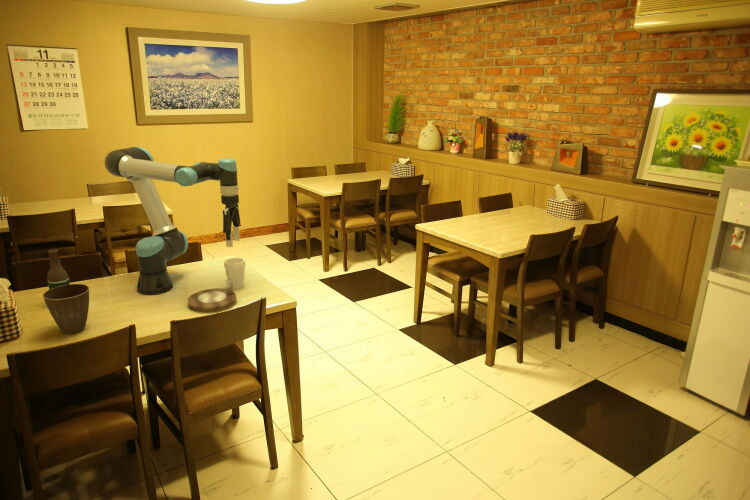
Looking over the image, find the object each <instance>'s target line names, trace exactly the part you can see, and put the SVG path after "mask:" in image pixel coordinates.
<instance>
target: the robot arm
mask: <svg viewBox="0 0 750 500" xmlns="http://www.w3.org/2000/svg"><path fill="white" fill-rule="evenodd" d="M104 168H105V169H106V170H107V172H108V173H109V174H110V175H113V176H115V177H119V178H120V177H121V178H125V179H126V180H127V181H128V182H130V183H132V185H133V187H134V190H135V192H136V195H137V196H138V199H139V201H140V203H141V205H142V208H143V209H144V211H145V214H146V217H147V218H148V221H149V223H150V225H151V228H152V230H153V233H152V236H148V237H145V238H142V239H140V240H138V242H137V243H136V245H135V248H136V249H135V251H136V252H135V253H136V258H137V259H136V260H137V265H138V266H137V267H138V271H139V272H138V273H139V274H138V275H139V276H138V280H137V286H136V289H137V293H139V294H141V295H148V296H149V295H150V296H151V295H159V294H164V293H167V292H169V291H170V290H172V289H173V288H174V284H173V283H174V282H173V280H172V278H171V276H170V274H169V272H168V268H167V263H168V262H169V261H172V260H174V259H175V258H178V257H181V256H182V255H183V254H185V253H186V251H187V249H188V248H189V240H188V237H187V235H186V234H185V233H184V232H183V231H180V230H179V229H178V227H177V226H175V225H173V223H172V222H171V219H170V217H169V214H168V211H167V209H166V207H165V205H164V203H163V200H162V198H161V195H160V194H159V191H158V189H157V187H156V184H155V182H154V180H156V181H163V182H168V183H169V182H170V183H177V184H178V185H179V186H181V187H191V186H193V185H197V184H200V183H203V182H207V181H217V182H218V181H219V187H220V188H219V189H220V190H219V191H220V194H221V196H220V200H221V201H220V203H221V204H222V205H225V207H224V209H223V210H222V233H223V234H225V245H226V248H233V247H234V245H233V244H234V243H233V242H239V241H241V238H240V236H241V235H240V227H241V226H242V224H241V223H242V222H241V217H240V211H239V209H240V208H239V203H240V198H239V190H240V187H239V184H238V168H237V161H236V160H235V158H220V159H218V161H217V163H215V162H206V161H201V162H200V161H199V162H198V161H197V162H195V163H194V165H180V164H177V163H176V164H174V163H168V162H160V161H154V158H153V156H152V154H151V152H150V151H149V150H148V149H146V148H144V147H141V146H131V147H127V148H120V149H119V148H118V149H114V150H112V151H110V152H108V153H107V154H106V156H105V158H104Z"/></svg>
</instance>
